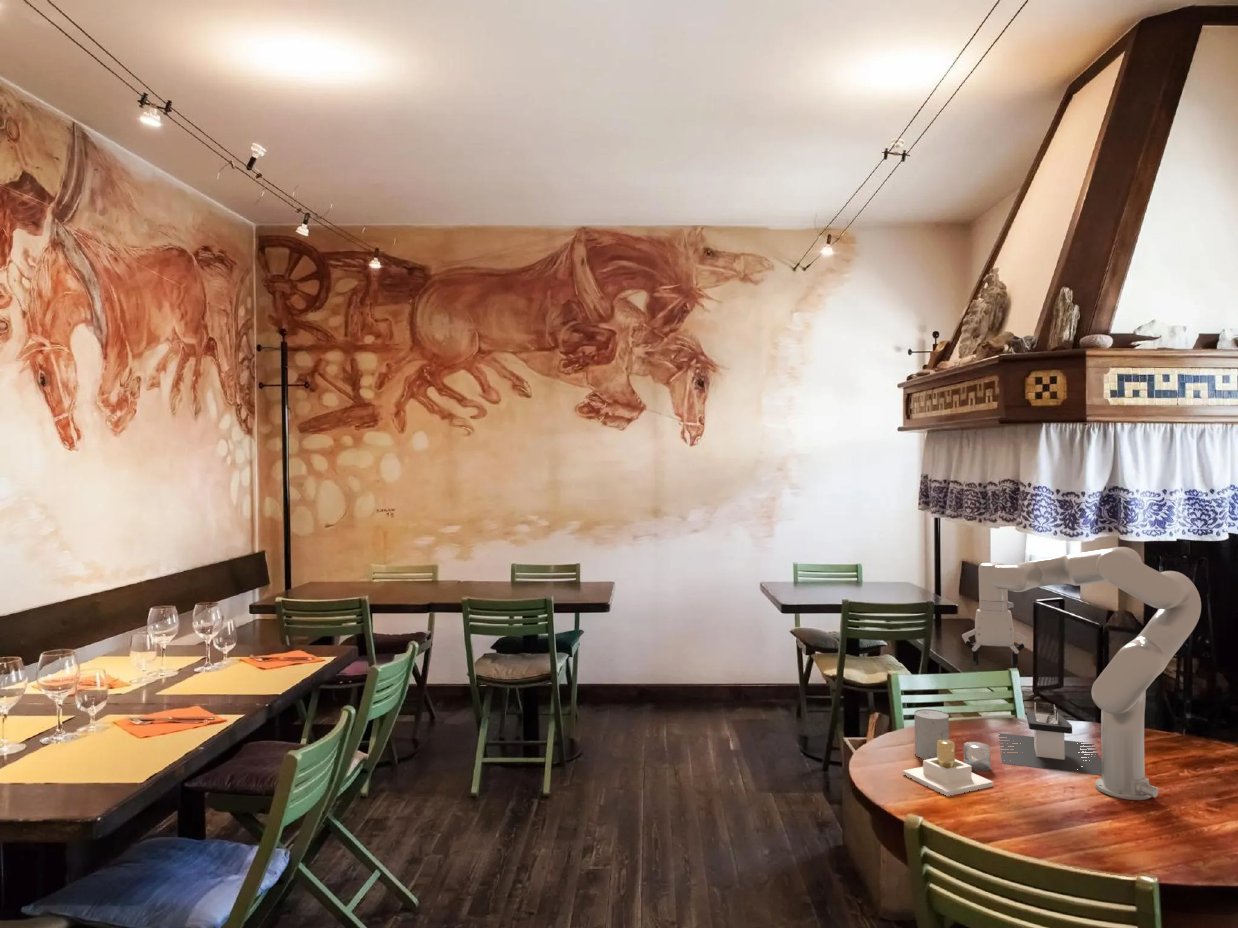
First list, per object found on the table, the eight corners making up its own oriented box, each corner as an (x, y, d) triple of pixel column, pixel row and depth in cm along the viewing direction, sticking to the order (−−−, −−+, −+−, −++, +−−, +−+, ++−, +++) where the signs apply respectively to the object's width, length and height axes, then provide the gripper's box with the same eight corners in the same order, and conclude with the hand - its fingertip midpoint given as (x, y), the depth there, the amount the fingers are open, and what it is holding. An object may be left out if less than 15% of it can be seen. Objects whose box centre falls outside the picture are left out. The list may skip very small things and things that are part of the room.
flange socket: (993, 786, 214) (993, 768, 214) (947, 796, 208) (946, 778, 208) (947, 765, 228) (947, 749, 229) (903, 774, 222) (902, 757, 222)
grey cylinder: (943, 750, 241) (943, 709, 241) (953, 762, 231) (953, 719, 231) (910, 749, 242) (910, 708, 242) (919, 761, 232) (919, 718, 232)
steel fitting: (995, 769, 226) (995, 747, 226) (977, 773, 223) (977, 751, 223) (976, 761, 232) (976, 740, 232) (958, 764, 229) (958, 743, 229)
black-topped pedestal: (1108, 776, 220) (1107, 727, 220) (1001, 763, 230) (1001, 716, 230) (1093, 743, 245) (1092, 699, 245) (998, 733, 256) (997, 691, 256)
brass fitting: (958, 776, 217) (958, 743, 217) (946, 779, 215) (945, 746, 215) (946, 771, 221) (945, 738, 221) (933, 773, 220) (933, 740, 220)
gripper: (1025, 604, 233) (1026, 664, 233) (960, 602, 239) (961, 660, 239) (1028, 609, 226) (1030, 670, 226) (961, 606, 232) (963, 666, 232)
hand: (995, 665), depth 232 cm, fingers open, 9 cm apart
